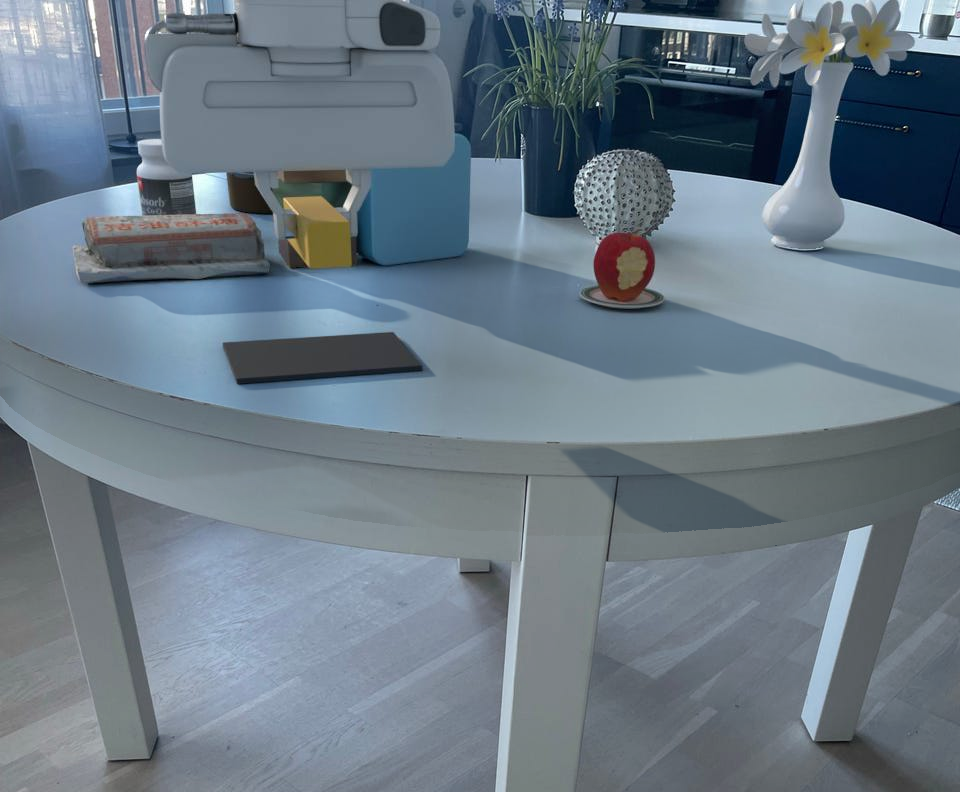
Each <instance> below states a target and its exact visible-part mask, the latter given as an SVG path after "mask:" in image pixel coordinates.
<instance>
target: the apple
mask: <svg viewBox="0 0 960 792" xmlns="http://www.w3.org/2000/svg"><path fill="white" fill-rule="evenodd" d="M642 231H643V229H642V228H638V229H636V230H635V231H633V232H631V233H628V232H627V233H626V232H613V233H610V234H607V235H606V236H605V237H603V238H602V240H601V241H600V243H599V244H598V247H597V249H596V251H595V254H594V257H593V263H592V265H593V273H594V277H595V281H596V283H597V284H596V285H590V286H587V287H584V288H582V289H581V290H580V291H579V296H580V298H582V299H583V300H585V301H587V302H589V303H592V304H596V305H598V306H602V307H606V308H611V309H619V310H635V309H643V308H650V307H656V306H659V305H661V304H662V303H663V302H664V301H665V296H664V295H663V294H662V293H661V292H659V291H657V290H654V289H651V288H647V287H648V286H649V283H650V282H651V281H652V278H653V276H654V273H655V268H656V257H655V252H654V249H653V247H652V245H651V244H650V242H649V241H648V239H646V238H645V237H644V236H642V235H639V234H636V233H637V232H642Z"/></svg>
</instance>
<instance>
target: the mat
mask: <svg viewBox="0 0 960 792" xmlns="http://www.w3.org/2000/svg"><path fill="white" fill-rule="evenodd" d="M222 349H223V351H224V354H225V356H226V359H227V362H228V364H229V366H230V367H229V368H230V370H231V372H232V374H233V375H232V376H233V377H234V380H235V383H236V384H237V385H243V384H255V383H257V384H258V383H269V382H282V381H283V382H284V381H296V380H297V381H298V380H309V379H322V378H338V377H350V376H363V375H365V376H366V375H378V374H391V373H405V372H418V371H419V372H420V371H423V365H422V363H421V362H420V361H419V360H418V358H417V357H416V356H415V355H414V354H413V353H412V352H411V351H410V350H409V349H408V347H407V346H406V344H405V343H403V341H402V340H401V339H400V337H398V335H397V334H396V333H395V332H394V331H386V332H385V331H384V332H369V333H355V334H338V335H336V334H335V335H321V336H305V337H291V338H290V337H288V338H272V339H257V340H256V339H255V340H243V341H242V340H240V341H226V342H224V341H223V342H222Z"/></svg>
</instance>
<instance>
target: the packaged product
mask: <svg viewBox="0 0 960 792" xmlns="http://www.w3.org/2000/svg"><path fill="white" fill-rule="evenodd" d="M81 224H82V230H83V235H84V242H85V244H74V245H72V254H73V258H74V267H75V273H76V276H77V279H78V281H79V282H80V284H83V285H84V284H94V283H109V282H127V281H151V280H179V279H191V280H201V279H205V278H217V277H232V276H235V277H236V276H251V275H261V274H266V273H269V271H270V267H271V266H270V263H269V261H268V259H266V258H265V242H264V239H263V238H262V230H261V229H260V228H258V226H257V223H256V221H255V220H254V219H253V218H252V216H250V215H249V214H248V213H244V212H239V213H233V212H231V213H202V214H201V213H196V214H183V215H146V216H142V215H103V216H101V215H100V216H91V217H85V218H84V219H83V221H82V223H81Z"/></svg>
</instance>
